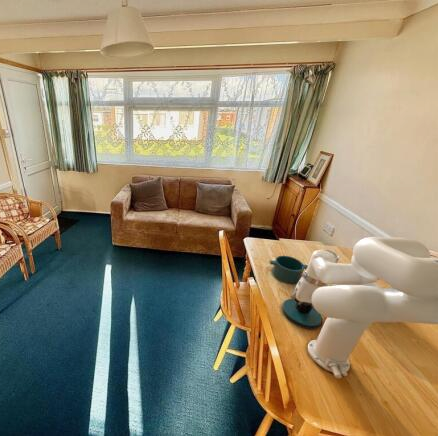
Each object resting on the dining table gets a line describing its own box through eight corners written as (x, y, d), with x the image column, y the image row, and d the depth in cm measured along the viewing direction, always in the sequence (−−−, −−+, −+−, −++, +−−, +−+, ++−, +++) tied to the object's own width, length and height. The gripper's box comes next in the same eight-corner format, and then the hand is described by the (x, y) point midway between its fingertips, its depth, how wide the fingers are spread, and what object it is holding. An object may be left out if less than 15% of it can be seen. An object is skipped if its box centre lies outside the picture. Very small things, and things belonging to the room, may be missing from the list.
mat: (327, 332, 94) (328, 331, 94) (287, 325, 97) (287, 324, 97) (313, 305, 107) (313, 304, 107) (278, 299, 110) (278, 298, 110)
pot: (309, 286, 118) (314, 273, 115) (269, 280, 123) (273, 268, 119) (300, 270, 130) (304, 258, 127) (264, 265, 135) (267, 253, 131)
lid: (327, 330, 94) (332, 320, 91) (287, 323, 97) (291, 312, 95) (313, 303, 107) (317, 293, 104) (278, 298, 110) (282, 288, 108)
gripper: (296, 281, 92) (284, 313, 100) (343, 288, 88) (326, 321, 96) (290, 269, 98) (279, 300, 107) (333, 275, 95) (319, 307, 103)
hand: (302, 310), depth 101 cm, fingers closed on lid, 3 cm apart
